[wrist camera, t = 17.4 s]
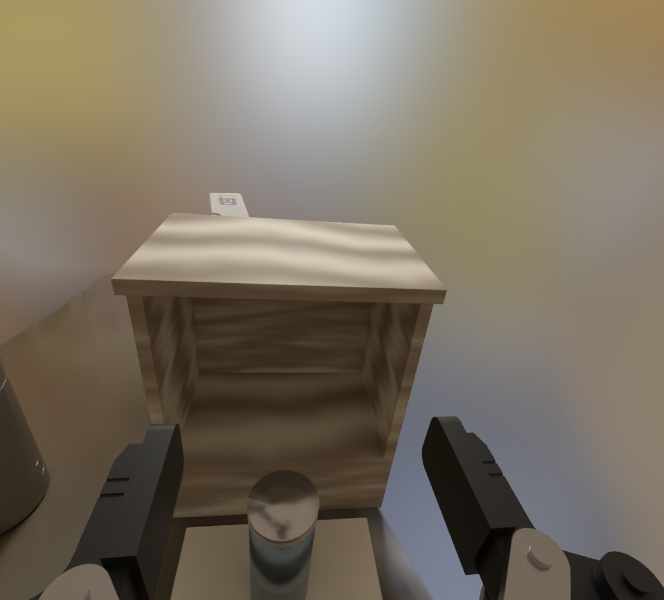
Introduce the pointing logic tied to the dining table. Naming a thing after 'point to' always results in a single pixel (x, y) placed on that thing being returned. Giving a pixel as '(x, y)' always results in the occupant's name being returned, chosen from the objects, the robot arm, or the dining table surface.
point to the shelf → (278, 351)
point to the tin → (281, 535)
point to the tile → (234, 563)
